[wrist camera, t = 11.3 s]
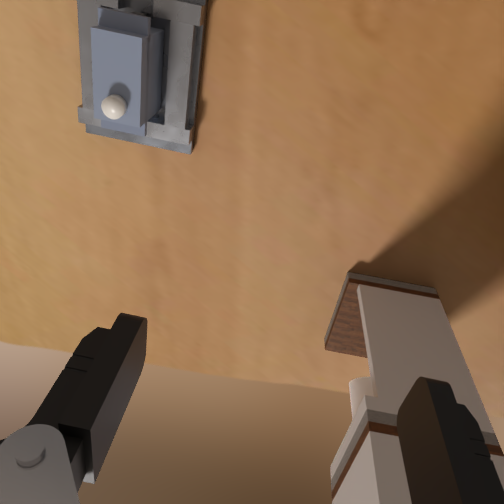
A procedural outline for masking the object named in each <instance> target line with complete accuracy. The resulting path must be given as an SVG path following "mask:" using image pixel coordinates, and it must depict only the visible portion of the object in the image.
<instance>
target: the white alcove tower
mask: <svg viewBox="0 0 504 504" xmlns="http://www.w3.org/2000/svg"><path fill="white" fill-rule="evenodd" d="M325 350H329V351H334V352H339V353H344V354H350V355H355V356H360V357H365V358H368V363H369V370H370V376H371V377H360V378H356V379H353V380H351V381H350V382H349V389H350V399H351V409H352V418H353V420H352V423H351V425H350V427H349V429H348V431H347V433H346V435H345V437H344V439H343V441H342V443H341V446H340V448H339V450H338V452H337V454H336V456H335V458H334V460H333V463H332V464H331V488H332V504H412V502H411V497H410V492H409V487H408V482H407V477H406V472H405V467H404V462H403V457H402V452H401V447H400V442H399V437H398V432H397V414H398V410H399V408H400V406H401V404H402V403H403V401H404V399H405V398H406V396H407V394H408V393H409V391H410V390H411V388H412V386H413V385H414V383H415V381H416V380H417V379H418V378H419V377H426V378H431V379H436V380H440V381H445V382H448V383H449V384H450V385H451V387H452V390H453V393H454V396H455V399H456V401H457V403H459V404H463V405H465V406H466V407H467V409H468V410H469V411H470V413H471V414H472V415H473V417H474V418H475V419H476V421H477V422H478V424H479V427H480V429H481V432H482V434H483V437H484V440H485V445H487V448H488V450H489V453H490V455H491V458H490V459H491V460H492V461H493V463H494V466H495V468H496V471H497V474H498V476H499V479H500V482H501V484H502V487H503V489H504V454H503V452H502V450H501V448H500V445H499V442H498V440H497V437H496V435H495V433H494V430H493V428H492V425H491V423H490V420H489V418H488V415H487V413H486V411H485V408H484V406H483V403H482V401H481V398H480V396H479V394H478V391H477V389H476V386H475V384H474V381H473V379H472V377H471V374H470V372H469V369H468V367H467V364H466V362H465V360H464V357H463V355H462V352H461V350H460V347H459V345H458V342H457V340H456V338H455V335H454V333H453V330H452V328H451V325H450V323H449V321H448V318H447V316H446V313H445V311H444V308H443V306H442V304H441V301H440V299H439V296H438V294H437V291H436V289H435V288H431V287H425V286H420V285H415V284H409V283H404V282H399V281H393V280H388V279H383V278H378V277H372V276H367V275H362V274H356V273H351V272H348V273H347V276H346V279H345V281H344V284H343V287H342V290H341V293H340V296H339V299H338V301H337V304H336V307H335V310H334V313H333V316H332V319H331V321H330V324H329V327H328V330H327V333H326V336H325Z"/></svg>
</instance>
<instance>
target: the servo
mask: <svg viewBox="0 0 504 504" xmlns="http://www.w3.org/2000/svg"><path fill="white" fill-rule="evenodd" d="M163 47H164V30H163V29H158V28H153V27H151V17H146V14H144V13H140V12H131V13H127V12H123V11H118V10H113V9H108V8H104V7H98V26H93V27H91V51H92V78H93V105H94V118H96V119H101V128H106V129H111V130H115V131H120V132H125V133H130V134H134V135H139V136H144V137H145V136H146V135H147V121H148V120H149V119H150V118H151V117H152V116H153V115H155V114H156V113H157V112H158V111H159V110H160V105H161V86H162V66H163Z"/></svg>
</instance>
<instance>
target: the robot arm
mask: <svg viewBox="0 0 504 504" xmlns="http://www.w3.org/2000/svg"><path fill="white" fill-rule="evenodd" d="M146 339H147V318H144V317H139V316H135V315H130V314H125V313H120V314H119V315H118V317H117V319H116V321H115V322H114V324H113V326H112V328H111V329H105V328H100V327H97V328H96V329H94V330H93V331H92V332H90V333H89V334H88V335H87V336H85V337H84V338H83V339H82V340H81V342H80V343H79V345H78V346H77V348H76V350H75V351H74V353H73V356H72V357H71V358H70V359H69V361H68V363H67V364H66V366H65V369H64V370H62V372H61V374H60V375H59V377H58V379H57V380H56V382H55V383H54V385H53V387H52V388H51V390H50V391H49V393H48V395H47V396H46V398H45V399H44V401H43V403H42V404H41V406H40V407H39V409H38V411H37V412H36V414H35V415H34V417H33V418H32V420H31V421H30V422H29V423H28V424H27V425H26V426H25V427H23V428H21V429H19V430H17V431H16V432H14V433H12V434H11V435H10V436H8V437H7V438H6V439H3V440H0V504H80V502H79V498H78V494H77V493H78V490H79V488H80V486H81V484H82V481H84V482H88V483H95V481H96V479H97V476H98V474H99V472H100V469H101V467H102V465H103V462H104V460H105V457H106V455H107V453H108V450H109V448H110V446H111V443H112V441H113V439H114V436H115V434H116V431H117V429H118V426H119V424H120V422H121V420H122V417H123V415H124V412H125V410H126V408H127V405H128V403H129V400H130V398H131V396H132V393H133V391H134V389H135V386H136V384H137V382H138V379H139V376H140V374H141V372H142V369H143V365H144V361H145V356H146ZM397 432H398V437H399V442H400V447H401V452H402V457H403V462H404V467H405V472H406V477H407V482H408V487H409V492H410V497H411V502H412V504H504V489H503V487H502V484H501V482H500V479H499V476H498V474H497V471H496V468H495V466H494V463H493V461H492V460H491V459H490V458H491V455H490V453H489V450H488V448H487V445H485V440H484V437H483V434H482V432H481V429H480V427H479V424H478V422H477V421H476V419H475V418H474V417H473V415H472V414H471V413H470V411H469V410H468V409H467V407H466V406H465V405H463V404H459V403H457V401H456V399H455V396H454V393H453V390H452V387H451V385H450V384H449V383H448V382H445V381H440V380H436V379H431V378H426V377H419V378H418V379H417V380H416V381H415V383H414V385H413V386H412V388H411V390H410V391H409V393H408V394H407V396H406V398H405V399H404V401H403V403H402V404H401V406H400V408H399V410H398V414H397Z"/></svg>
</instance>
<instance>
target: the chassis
mask: <svg viewBox="0 0 504 504" xmlns="http://www.w3.org/2000/svg"><path fill="white" fill-rule="evenodd" d="M207 5H208V0H77V6H78V25H79V45H80V64H81V83H82V102H83V104H82V105H80V106H78V120H79V122H80V123H85V124H86V132H87V133H91V134H96V135H101V136H106V137H110V138H115V139H120V140H125V141H129V142H134V143H139V144H144V145H148V146H153V147H158V148H162V149H167V150H172V151H177V152H181V153H186V154H191V153H192V152H193V145H194V135H195V125H196V115H197V105H198V95H199V85H200V75H201V65H202V55H203V45H204V35H205V25H206V15H207ZM98 7H104V8H108V9H113V10H118V11H123V12H127V13H131V12H140V13H144V14H146V17H151V27H153V28H158V29H163V30H164V47H163V66H162V86H161V105H160V110H159V111H158V112H157V113H156V114H155V115H153V116H152V117H151V118H150V119H149V120H148V121H147V135H146V136H145V137H144V136H139V135H134V134H130V133H125V132H120V131H115V130H111V129H106V128H101V119H96V118H94V105H93V78H92V51H91V27H93V26H98Z"/></svg>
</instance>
